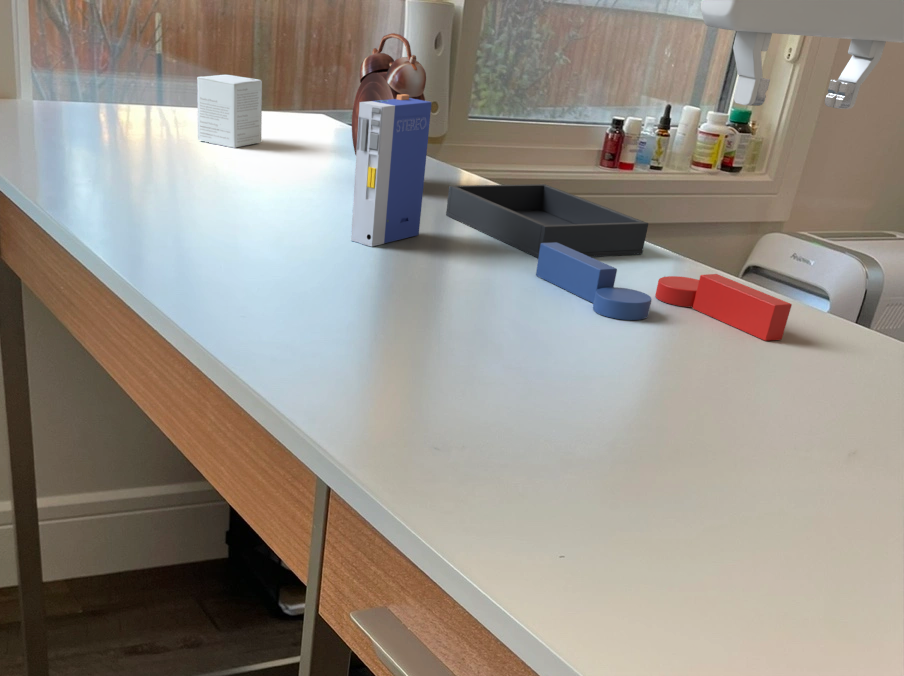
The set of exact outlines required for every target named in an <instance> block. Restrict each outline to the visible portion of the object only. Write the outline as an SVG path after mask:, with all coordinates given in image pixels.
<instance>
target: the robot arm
mask: <svg viewBox="0 0 904 676" xmlns="http://www.w3.org/2000/svg"><path fill="white" fill-rule="evenodd" d="M700 12H701V16H702V20H703V23H704V25H705V26H707V27H711V28H716V29H721V30H727V31H736V33H735V38H734V43H733V46H732V49H733V55H734V61H735V66H736V72H737V76H738V78H737V82H736V86H735V90H734V95H733V101H734V103H735V104H738V105H741V106H750V107H751V106H753V107H758V106H759V107H760V106H763V104H764V103H765V101H766V98H767V96H766V93H767V91H768V90H769V86H770V82H771V79H769V78H765V77H763V64H762V52H767V51H769V46H770V43H771V39H772V35H773V34H777V35H789V36H790V35H792V36H806V37H816V38H817V37H819V38H835V39H846V40H847V39H848V40H850V43H849V47H848V51H847V54H848V55H851V57H850V59H849V60H848V62H847V63H846V65H845V67H844V68H843V70H842V71H841V74H840V75H839V77H838V79H830V81H829V83H828V87H827V94H826V95H825V98H824V105H825V106H826V107H828V108H833V109H840V110H851V109H853V108H854V106H855V105H856V102H857V99H858V95H859V92H860V89H861V86H862V84H863V83H864V82H865V81H866V79H867V78H868V77H869V75H870V74H871V73H872V71H873V70H874V69H875V67H876V66H877V65H878V64H879V62H880V60H881V59H882V56H883V52H884V49H885V46H886V42H889V43H902V44H904V0H701V2H700Z"/></svg>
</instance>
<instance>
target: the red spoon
mask: <svg viewBox="0 0 904 676" xmlns="http://www.w3.org/2000/svg"><path fill="white" fill-rule="evenodd" d="M654 297H655V298H656V299H657V300H658V301H661V302H662V303H664V304H665V303H666V304H669V305H672V306H677V307H684V308H692V309H693V310H695V311H697V312H699V313H702V314H704V315H707V316H708V317H710V318H713V319H716V320H717V321H720V322H721V323H723V324H726V325H728V326H732V327H733V328H735V329H737V330H740V331H742V332H745V333H746V334H749V335H751V336H754V337H756V338H758V339H759V340H762V341H765V342H769V341H777V340H778V341H779V340H780V341H781V340H782V339H783V336H784V333H785V331H786V326H787V322H788V319H789V316H790V313H791V309H792V306H793V304H792V303H790V302H788V301H785V300H782V299H780V298H778V297H776V296H773V295H770V294H768V293H765V292H763V291H760V290H759V289H756V288H753V287H750V286H748V285H746V284H743V283H740V282H738V281H735V280H732V279H730V278H728V277H725V276H724V275H721V274H718V273H708V274H700V276H699V279H697V278H692V277H688V276H679V275H669V276H668V275H667V276H663V277H660V278H659V279H658V281H657V285H656V289H655V295H654Z"/></svg>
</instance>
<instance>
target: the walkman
mask: <svg viewBox="0 0 904 676" xmlns="http://www.w3.org/2000/svg"><path fill="white" fill-rule="evenodd" d="M431 112H432V101H429V100H426V101H423V100H417V99H412V98H409V95H406V94H401V95H397V98H396V99H390V100H379V101H368V102H360V105H359V120H358V136H357V152H356V155H355V169H354V170H355V171H354V185H353V188H354V189H353V199H352V200H353V203H352V215H351V217H352V218H351V231H350V232H351V233H350V241H352V242H355V243H359V244H360V245H364V246H369V247H375V246H380V245H384V244H388V243H392V242H396V241H400V240H404V239H409V238H412V237H416V236H419V235H420V227H421V216H422V205H423V196H424V195H423V194H424V184H425V173H426V166H427V165H426V163H427V154H428V143H429V134H430V125H431V124H430V123H431Z"/></svg>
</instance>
